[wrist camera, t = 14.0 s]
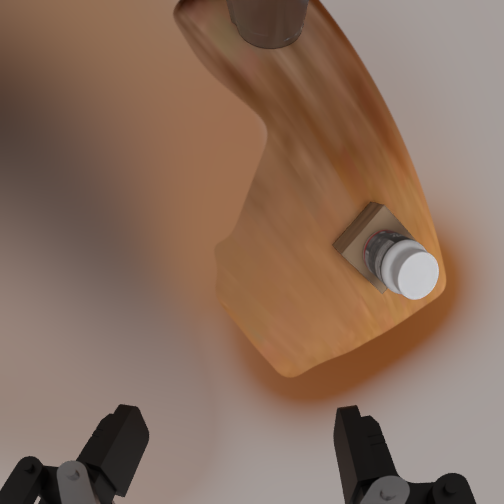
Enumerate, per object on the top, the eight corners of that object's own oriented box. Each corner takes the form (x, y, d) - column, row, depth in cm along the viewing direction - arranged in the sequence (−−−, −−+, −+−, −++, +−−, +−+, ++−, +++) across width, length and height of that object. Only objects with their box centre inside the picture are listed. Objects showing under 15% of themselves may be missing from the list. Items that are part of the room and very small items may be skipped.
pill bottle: (410, 242, 33) (452, 263, 23) (388, 281, 34) (423, 313, 24) (375, 220, 32) (413, 235, 23) (353, 261, 34) (382, 290, 24)
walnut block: (332, 245, 38) (341, 254, 34) (370, 201, 37) (384, 204, 32) (370, 281, 39) (382, 294, 34) (406, 240, 38) (422, 248, 33)
